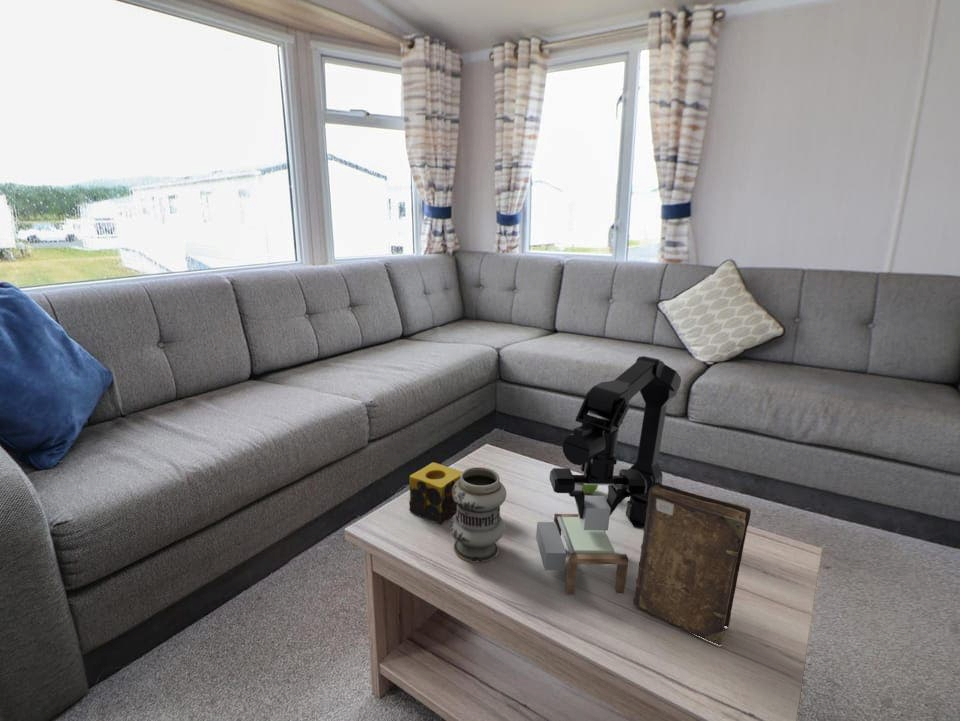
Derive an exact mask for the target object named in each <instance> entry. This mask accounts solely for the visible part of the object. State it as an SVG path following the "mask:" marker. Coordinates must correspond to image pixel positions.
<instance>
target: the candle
mask: <svg viewBox="0 0 960 721" xmlns="http://www.w3.org/2000/svg"><path fill="white" fill-rule="evenodd" d="M462 472H463V471H461V470H460V469H455V468H452V467H450V466H449V467H448V466H446V465H443V464H440V463H437V462H431V463H429V464H428V465H426V466H425V467H423V468H421V469H419V470H418V471H415V472H414V473H411V474H410V475H409V479H408V480H409V481H408V483H409V484H408V485H409V486H408V487H409V501H408V502H409V504H408V505H409V509H408V510H409V512H410V513H412V514H415V515H417V516H419V517H422V518H424V519H426V520H429V521H432V522H433V523H436V524H439V525H443V524H444V523H445V522H446V521H448V520H449V519H452V517H453V516H454V515H455V514H456V509H457V503H456V502H455V501H454V499H453V497H452V488H453V486H454V484H455V483H456V482H457V481H458V480H459V479H460V475H461V473H462Z"/></svg>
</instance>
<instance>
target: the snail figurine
mask: <svg viewBox="0 0 960 721" xmlns="http://www.w3.org/2000/svg"><path fill="white" fill-rule="evenodd" d="M581 475H584V473H582V474H581ZM598 486H599V485H583V486H582V490H583V492H584V494H585V495H586V494H589V495H590V494H593V493H594V492H596V490H597V489H598Z"/></svg>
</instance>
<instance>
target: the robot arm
mask: <svg viewBox="0 0 960 721" xmlns="http://www.w3.org/2000/svg"><path fill="white" fill-rule="evenodd" d="M681 384H682V379H681V376H680V374H679V373H678V371H677V370H676V369H673V368H672V367H670V366H668V365H667V364H665V363H664V361H662V360H661V359H659V358H654V357H651V356H650V357H649V356H644V355H642V356H638V357H637V359H636V361H635V362H634V364H632V365H631V366H630V367H629V368H627V369H626V370H624V372H622V373H621V374H620V375H618V376H617V377H616V378H615V379H614V380H610V381H602V382H599V383H598V384H596V385H593V386H592V387H591V388H590V389H589V390H588V392H587V393H586V395H585V397H584V399H583V402H582V404H581V406H580V409H579V410H578V413H577V416H576V418H575V422H577V423H580V424H581V425H580V426H577V427H575V428H573V433H571V434H570V435H568V436H566V437H565V439H564V441H563V442H562V445H561V446H562V453H563V456H564V457H565V458H566V460H568V462H570V463H571V464H573V465H576V466H579V467H580V468H579V469H580V471H581V472H583V474H584V475H582V474H573V473H572V471H571V469H570V468H568V467H566V468H564V467H563V468H562V467H558V468H557V467H554V468H552V469H551V471H550V472H549V482H550V484H551V486H552V490H553V492H554V493H557V494H568V495H569V496H570V497H572V498H574V501H575V504H576V509H577V514H579V517H580V519H582V517H583V513H584V500H585V496H586V493H584V492H583V490H582V486H583V485H598V486H607V488H608V489H607V491H608V492H607V496H606V501H607V503H608V505H609V506H610V508H611V510H610V516H611V515H612V514H613V513H614V512H615V510H616V509H617V507H618V506H619V505H620V504H621V503H622V502H623V501H624V500H625V499H626V498H629V500H627V503H626V510H625V513H626V514H625V513H624V514H625V516H626V517H627V519H628V521H629V522H630V524H631V523H632V524H631V526H632V525H633V526H635V527H634V528H644V527H645V521H646V510H647V506H648V497H649V490H650V488H651V487H653V486H655V485H664V484H663V478H664V477H663V472H662V470H661V468H660V465H659V455H660V450H661V445H662V437H663V432H664V424H665V419H666V413H667V407H668V405H670V403H671V401H673V399H675V398H676V396H677V394H678V393H677V392H678V391H679V389H680V387H681ZM638 393H640V395H641V396H642V399H643V401H644V410H643V411H644V412H643V418H642V424H641V429H640V430H641V431H640V437H639V442H638V450H637V455H636V461H635V463H633V464H632V465H631V467H629V468H627V469H626V468H621V469H620V470H619V472H618V473H614V470H615V465H617V462H618V460H617V458H616V453H617V447H618V446H617V445H618V439H619V437H618V436H619V429H620V426H621V425H622V424H623V423H624V419H625V417H626V415H627V413H628V411H629V410H630V401H631V400H632V398H633V397H635V396H636V395H637V394H638ZM589 414H591V415H589ZM593 415H594V416H593ZM596 416H598V417H596ZM633 526H632V527H633ZM638 526H639V527H638Z"/></svg>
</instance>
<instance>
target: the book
mask: <svg viewBox="0 0 960 721" xmlns="http://www.w3.org/2000/svg"><path fill="white" fill-rule="evenodd" d="M751 510H752V509H751V508H750V507H748V506H744V505H741V504H738V503H733V502H728V501H724V500H720V499H716V498H712V497H709V496H704V495H700V494H696V493H692V492H688V491H685V490H681V489H680V488H677V487H673V486H670V485H665V484H663V485H655V486H653V487H651V488H650V490H649V497H648V506H647V510H646V521H645V527H643V536H642V543H641V546H640V556H639V557H640V558H639V562H638V571H637V576H636V579H635V591H634V595H633V596H634V597H633V600H632V602H633V603H632V604H633V605H634V606H635V607H636V608H637V609H638V610H639V611H641V612H643V613H645V614H647V615H649V616H651V617H654V616H655V617H654V618H658V619H659V618H660V619H659V620H661V621H664V622H666V621H667V622H666V623H668V622H669V623H668V624H670V623H671V625H672V624H673V626H674V627H675V626H676V627H677V628H679V629H681V628H682V629H681V630H683V629H684V630H683V631H685V630H686V632H688V631H689V632H691V633H693V634H695V635H697V636H700V637H702V638H704V639H706V640H708V641H711V642H713V643H716V644H718V645H722V646H723V643H724V635H725V632H724V630H725V629H724V626H727V627H728V628H729V627H730V622H731V616H732V609H733V604H734V598H735V594H736V589H737V588H736V587H737V583H738V578H739V572H740V567H741V566H740V565H741V561H742V559H743V557H742V556H743V553H744V552H743V551H744V545H745V540H746V537H747V536H746V535H747V530H748V527H749V524H750V519H751V515H752V514H751V513H752V511H751ZM689 632H688V633H689ZM691 633H690V634H691ZM693 634H692V635H693ZM695 635H694V636H695Z"/></svg>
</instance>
